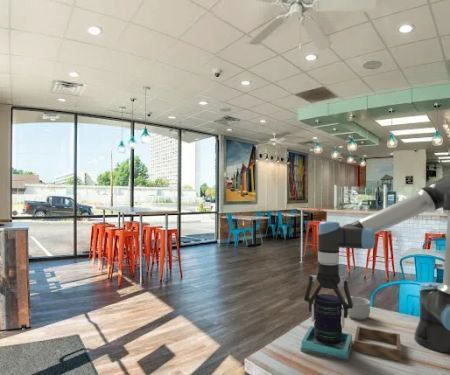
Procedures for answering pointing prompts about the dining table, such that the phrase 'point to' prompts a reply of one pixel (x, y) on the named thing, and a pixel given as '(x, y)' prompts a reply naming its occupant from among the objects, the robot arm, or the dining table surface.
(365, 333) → the walnut holder
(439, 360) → the dining table surface
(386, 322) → the dining table surface
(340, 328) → the navy oil drum
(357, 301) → the teacup
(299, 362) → the dining table surface
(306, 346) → the teal square tray
